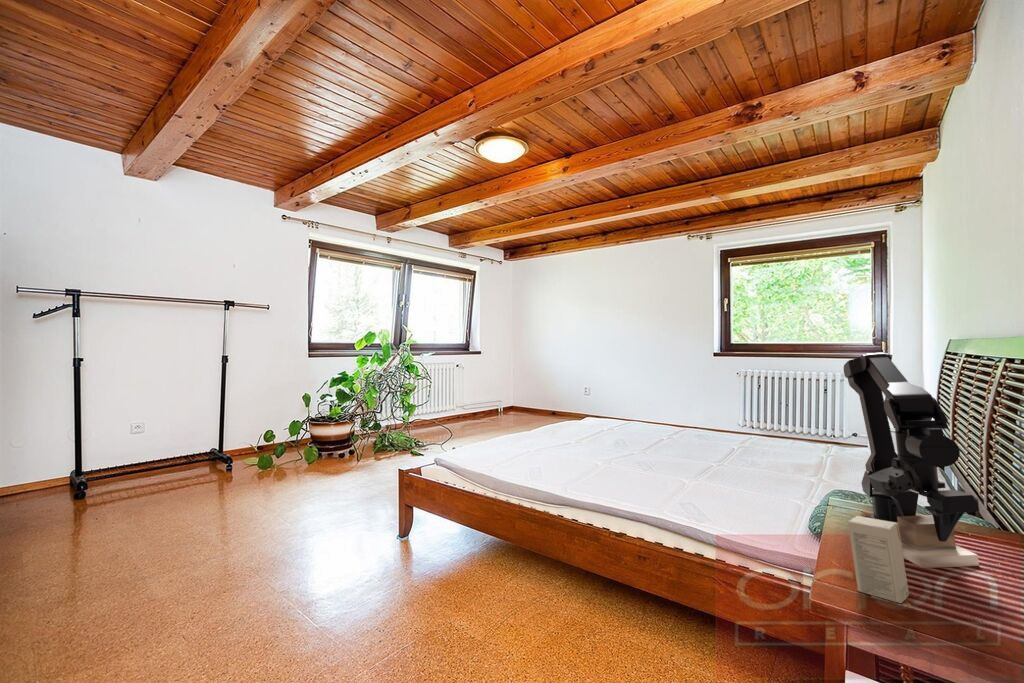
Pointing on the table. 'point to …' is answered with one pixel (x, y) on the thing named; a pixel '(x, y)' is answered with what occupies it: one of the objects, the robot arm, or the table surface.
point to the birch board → (940, 557)
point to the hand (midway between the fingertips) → (925, 533)
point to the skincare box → (878, 558)
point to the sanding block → (922, 533)
